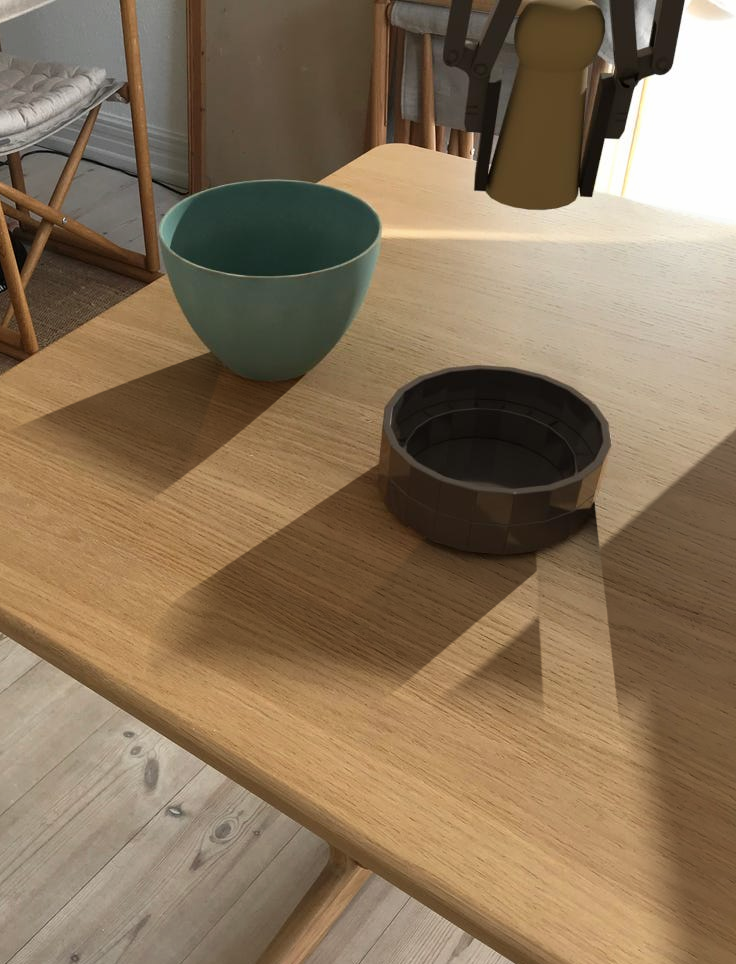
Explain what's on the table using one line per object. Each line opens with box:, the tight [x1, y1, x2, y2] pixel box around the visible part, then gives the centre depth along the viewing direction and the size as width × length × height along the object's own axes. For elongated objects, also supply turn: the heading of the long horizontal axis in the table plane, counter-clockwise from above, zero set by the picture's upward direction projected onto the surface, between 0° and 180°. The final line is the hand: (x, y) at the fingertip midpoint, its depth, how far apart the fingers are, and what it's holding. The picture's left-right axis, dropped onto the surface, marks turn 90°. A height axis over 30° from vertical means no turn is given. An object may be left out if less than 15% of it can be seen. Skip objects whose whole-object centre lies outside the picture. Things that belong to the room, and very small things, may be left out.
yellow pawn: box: [485, 0, 606, 211], centre depth 64 cm, size 6×6×11 cm
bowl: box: [376, 364, 613, 556], centre depth 77 cm, size 16×16×6 cm
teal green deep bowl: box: [158, 179, 383, 383], centre depth 89 cm, size 18×18×12 cm
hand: (532, 184), depth 68 cm, fingers closed on yellow pawn, 6 cm apart
